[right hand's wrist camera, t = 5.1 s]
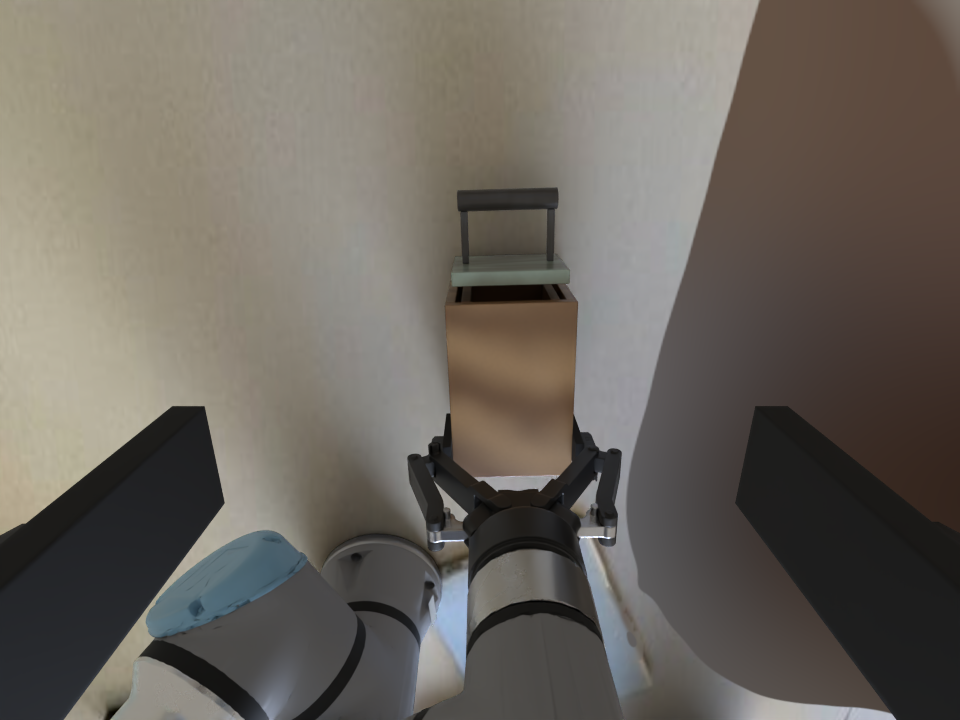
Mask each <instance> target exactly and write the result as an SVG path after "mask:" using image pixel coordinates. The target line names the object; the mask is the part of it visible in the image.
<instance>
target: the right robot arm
mask: <svg viewBox="0 0 960 720" xmlns="http://www.w3.org/2000/svg"><path fill="white" fill-rule="evenodd" d="M224 503H225V502H224V498H223V493H222V488H221V483H220V478H219V473H218V469H217V464H216V459H215V454H214V449H213V445H212V440H211V435H210V430H209V425H208V421H207V416H206V411H205V406H172V407H171V408H170V409H168V410H167V411H166V412H165V413H163V414H162V415H161V416H160V417H158V418H157V419H156V420H155V421H153V422H152V423H151V424H150V425H148V426H147V427H146V428H145V429H143V430H142V431H141V432H140V433H138V434H137V435H136V436H135V437H133V438H132V439H131V440H130V441H128V442H127V443H126V444H125V445H123V446H122V447H121V448H120V449H118V450H117V451H116V452H115V453H113V454H112V455H111V456H110V457H108V458H107V459H106V460H105V461H103V462H102V463H101V464H100V465H98V466H97V467H96V468H95V469H93V470H92V471H91V472H90V473H88V474H87V475H86V476H85V477H83V478H82V479H81V480H80V481H79V482H77V483H76V484H75V485H74V486H72V487H71V488H70V489H69V490H67V491H66V492H65V493H64V494H62V495H61V496H60V497H59V498H57V499H56V500H55V501H54V502H52V503H51V504H50V505H49V506H47V507H46V508H45V509H44V510H42V511H41V512H40V513H39V514H37V515H36V516H35V517H34V518H32V519H31V520H30V521H29V522H27V523H26V524H21V525H19V526H17V527H15V528H13V529H11V530H10V531H8V532H6V533H4V534H2V535H0V720H64V718H65V717H66V716H67V714H68V713H69V712H70V710H71V709H72V708H73V706H74V705H75V704H76V702H77V701H78V700H79V698H80V697H81V696H82V694H83V693H84V692H85V690H86V689H87V687H88V686H89V685H90V683H91V682H92V681H93V679H94V678H95V677H96V675H97V674H98V673H99V671H100V670H101V669H102V667H103V666H104V665H105V663H106V662H107V661H108V659H109V658H110V657H111V655H112V654H113V653H114V651H115V650H116V649H117V647H118V646H119V644H120V643H121V642H122V640H123V639H124V638H125V636H126V635H127V634H128V632H129V631H130V630H131V628H132V627H133V626H134V624H135V623H136V622H137V620H138V619H139V618H140V616H141V615H142V614H143V612H144V611H145V610H146V608H147V607H148V605H149V604H150V603H151V601H152V600H153V599H154V597H155V596H156V595H157V593H158V592H159V591H160V589H161V588H162V587H163V585H164V584H165V583H166V581H167V580H168V579H169V577H170V576H171V575H172V573H173V572H174V571H175V569H176V568H177V567H178V565H179V564H180V562H181V561H182V560H183V558H184V557H185V556H186V554H187V553H188V552H189V550H190V549H191V548H192V546H193V545H194V544H195V542H196V541H197V540H198V538H199V537H200V536H201V534H202V533H203V532H204V530H205V529H206V528H207V526H208V525H209V524H210V522H211V521H212V519H213V518H214V517H215V515H216V514H217V513H218V511H219V510H220V509H221V507H222V506H223V505H224ZM735 503H736V505H737V506H738V507H739V509H740V510H741V511H742V513H743V514H744V515H745V517H746V518H747V519H748V521H749V522H750V523H751V525H752V526H753V527H754V529H755V530H756V532H757V533H758V534H759V536H760V537H761V538H762V540H763V541H764V542H765V544H766V545H767V546H768V548H769V549H770V550H771V552H772V553H773V554H774V556H775V557H776V558H777V560H778V561H779V562H780V564H781V565H782V566H783V568H784V569H785V571H786V572H787V573H788V575H789V576H790V577H791V579H792V580H793V581H794V583H795V584H796V585H797V587H798V588H799V589H800V591H801V592H802V593H803V595H804V596H805V597H806V599H807V600H808V601H809V603H810V604H811V605H812V607H813V608H814V610H815V611H816V612H817V614H818V615H819V616H820V618H821V619H822V620H823V622H824V623H825V624H826V626H827V627H828V628H829V630H830V631H831V632H832V634H833V635H834V636H835V638H836V639H837V640H838V642H839V643H840V644H841V646H842V647H843V649H844V650H845V651H846V653H847V654H848V655H849V657H850V658H851V659H852V661H853V662H854V663H855V665H856V666H857V667H858V669H859V670H860V671H861V673H862V674H863V675H864V677H865V678H866V679H867V681H868V682H869V683H870V685H871V686H872V687H873V689H874V690H875V692H876V693H877V694H878V696H879V697H880V698H881V700H882V701H883V702H884V704H885V705H886V706H887V708H888V709H889V710H890V712H891V713H892V714H893V716H894V717H895V718H896V720H960V533H958V532H957V531H955V530H953V529H951V528H949V527H947V526H945V525H943V524H941V523H939V522H931V521H930V520H929V519H928V518H926V517H925V516H924V515H923V514H921V513H920V512H919V511H918V510H916V509H915V508H914V507H913V506H911V505H910V504H909V503H908V502H906V501H905V500H904V499H903V498H901V497H900V496H899V495H898V494H896V493H895V492H894V491H893V490H891V489H890V488H889V487H888V486H886V485H885V484H884V483H883V482H881V481H880V480H879V479H878V478H876V477H875V476H874V475H873V474H872V473H870V472H869V471H868V470H867V469H865V468H864V467H863V466H861V465H860V464H859V463H858V462H857V461H855V460H854V459H853V458H852V457H850V456H849V455H848V454H846V453H845V452H844V451H843V450H842V449H840V448H839V447H838V446H837V445H835V444H834V443H833V442H832V441H830V440H829V439H828V438H827V437H825V436H824V435H823V434H822V433H820V432H819V431H818V430H817V429H815V428H814V427H813V426H812V425H810V424H809V423H808V422H807V421H805V420H804V419H803V418H802V417H800V416H799V415H798V414H797V413H795V412H794V411H793V410H792V409H790V408H789V407H788V406H756V407H755V411H754V416H753V421H752V425H751V430H750V435H749V440H748V445H747V450H746V454H745V459H744V464H743V469H742V473H741V478H740V483H739V488H738V493H737V498H736V502H735Z"/></svg>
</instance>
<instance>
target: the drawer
mask: <svg viewBox="0 0 960 720" xmlns="http://www.w3.org/2000/svg"><path fill="white" fill-rule="evenodd" d="M457 203H458V211H461V238H462V256H460V257H455V260H454V264H453V268H452V272H451V280H452V287H463V292H462V300H461V302H495V301H532V300H560V299H559V297H558V295H557V293H556V292H555V290H554V288H553V286H552V285H551V284H569V282H570V269H569V268H568V267H567V266H566V265H565V263H564V262H563V261H562V260H561V259H560V257H559V256H558V255H557V254H554V225H555V209H557V207H558V188H522V189H487V190H458V191H457ZM530 209H547V254H532V255H496V256H469V241H468V212H467V211H495V210H530Z"/></svg>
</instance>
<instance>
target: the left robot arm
mask: <svg viewBox="0 0 960 720" xmlns="http://www.w3.org/2000/svg"><path fill="white" fill-rule="evenodd" d="M428 450H429V454H428V455H427V456H424V457H421V455H419V454H411V455H409V456H408V457H407V459H408V471H409V481H410V485H411V487H412V489H413V492H414V494H415V497H416V499H417V501H418V504H419V506H420V508H421V511H422V513H423V516H424V518H425V520H426V529H427V542H428V548H429V550H431V551H439V550H442V549H443V547H444V543H445V541H464V543H465V544H466V546H467V547H468V548H469V568H468V589H469V592H468V603H467V643H466V668H465V680H464V690H463V691H462V693H460V694H459V695H457V696H454V697H452V698H450V699H447V700H445V701H442V702H440V703H438V704H436V705H434V706H432V707H430V708H426V709H424V710H422V711H421V712H419V713H416V714H414V715H413V710H414V700H415V691H416V681H417V672H418V662H419V653H420V644H421V642H422V640H423V638H424V636H425V634H426V632H427V630H428V628H429V627H430V625H431V623H432V627H433V625H434V622H435V620H436V618H437V616H436V613H437V610H438V608H439V605H440V601H441V593H442V578H441V574H440V571H439V568H438V566H437V565H436V563H435V561H434V560H433V559H432V558H431V556H430V555H429V554H428V553H427V552H426V551H424V550H423V549H422V548H421V547H419V546H418V545H416V544H414V543H412V542H410V541H408V540H406V539H403V538H400V537H396V536H391V535H383V534H372V535H364V536H359V537H356V538H353V539H350V540H348V541H346V542H344V543H342V544H341V545H339V546H338V547H337V548H336V549H334V550H333V551H332V552H331V553H330V555H329V556H328V557H327V559H326V561H325V563H324V565H323V568H322V570H321V573H319V572H318V571H317V570H316V569H315V568H314V567H313V566H312V565H311V563H310V562H309V561H308V560H307V556H306V555H305V554H303V553H301V552H299V551H297V550H296V549H295V548H294V547H293V546H292V545H291V544H290V543H289V542H288V541H287V540H286V539H285V538H284V537H283V536H282V535H280V534H279V533H277V532H274V531H269V530H263V531H257V532H253V533H250V534H247V535H244V536H242V537H240V538H237V539H235V540H233V541H232V542H230V543H228V544H226V545H225V546H223V547H221V548H220V549H218V550H216V551H215V552H213V553H212V554H210V555H209V556H207V557H206V558H204V559H203V560H202V561H200V562H199V563H197V564H196V565H195V566H194V567H192V568H191V569H190V570H188V571H187V572H186V573H185V574H184V575H182V576H181V577H180V578H179V579H178V580H177V581H176V582H174V583H173V584H172V585H171V586H170V587H169V588H168V589H167V590H166V591H165V592H164V593H163V594H162V595H161V596H160V597H159V599H158V600H157V601H156V605H155V606H153V607H152V608H151V609H150V611H149V613H148V615H147V617H146V624H147V627H148V632H149V634H150V635H151V636H152V637H155V639H154V640H153V641H152V642H151V644H150V645H149V646H148V647H147V648H146V649H145V650H144V651H143V653H142V654H141V655H140V656H139V657H138V658H137V659H136V660H135V662H134V663H133V677H132V690H131V694H130V697H129V699H128V700H127V701H126V702H125V703H124V704H123V706H122V707H121V708H120V709H119V710H118V711H117V713H116V714H115V715H114V716H113V717H112V718H111V720H624V717H623V713H622V710H621V706H620V702H619V699H618V695H617V692H616V688H615V685H614V681H613V678H612V674H611V670H610V667H609V663H608V659H607V655H606V651H605V644H604V640H603V636H602V632H601V628H600V623H599V619H598V615H597V611H596V607H595V603H594V599H593V595H592V591H591V587H590V584H589V582H588V579H587V573H586V569H585V565H584V561H583V557H582V553H581V549H580V545H579V540H580V538H590V537H598V540H599V542H600V544H601V545H603V546H606V547H612V546H614V545H615V543H616V532H617V520H618V513H617V511H616V508H615V506H614V504H615V499H616V494H617V489H618V484H619V479H620V468H621V456H622V452H621V451H620V450H619V449H614V448H612V449H609V450H608V451H607V452H602V451H600V450H599V448H598V447H597V446H596V445H595V443H594V440H593V438H592V435H591V434H590V433H588V432H580V430H579V428H578V425H577V422H576V419H575V417H574V414H573V434H572V463H571V464H570V465H569V466H568V467H567V468H566V469H565V470H564V471H563V473H562V474H561V475H560V476H559V477H558V478H557V479H556V480H555V479H551V480H550V482H549V483H548V484H547V485H546V486H545V487H544V488H543V489H542V490H541V491H540V492H538V489H527V490H522V491H513V490H498V492H497V491H496V490H494V489H493V488H492V487H491V486H490V485H488V484H487V483H486V482H485V481H481V482H478V481H477V480H476V479H475V478H474V477H472V476H471V475H470V474H469V473H468V472H467V471H465V470H464V469H463V468H462V467H461V466H459V465H458V464H457V463H456V462H455V461H453V449H452V432H451V414H447V415H446V423H445V430H444V436H435V437H434V438H433V439H432V443H430V444H429V445H428ZM598 472H599V473H602V474H601V478H600V482H599V486H598V490H597V494H596V504H595V503H594V504H591V509H590V510H588V511H587V512H586V516H585V517H584V518H580V519H579V517H578V516H577V515H576V514H575V513H574V512H572V511H571V510H569V509H570V508H571V507H572V505H573V504H574V503H575V502H576V500H577V499H578V498H579V497H580V495H581V494H582V493H583V492H584V490H585V489H586V488H587V486H588V485H589V484H590V483H591V481H592V480H596V481H597V475H598ZM434 481H435V482H436V483H437V484H438V485H439V486H440V487H441V488H442V489H443V490H444V491H445V492H446V493H447V494H448V495H449V496H450V497H451V498H452V499H453V500H454V501H455V502H457V503H458V504H459V505H460V506H461V507H462V508H463V509H464V510H465V511H466V512H467V513H468V514H469V515H467V516H466V517H465V519H464V521H463V522H460V521H458V520H456V519H455V516H454V515H453V514H451V513H450V508H447V507H446V508H444V504H443V499H442V497H441V495H440V493H439V491H438V489H437V487H436V485H435V483H434Z"/></svg>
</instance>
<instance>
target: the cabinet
mask: <svg viewBox="0 0 960 720" xmlns="http://www.w3.org/2000/svg"><path fill="white" fill-rule="evenodd" d="M551 285H552V286H553V288H554V290H555V292H556V293H557V295H558V297H559V299H560V300H532V301H495V302H461V300H462V292H463V287H452V280H451V282H450V286H449V290H448V294H447V299H446V303H445V318H446V337H447V356H448V375H449V394H450V413H451V432H452V449H453V461H455V462H456V463H457V464H458V465H459V466H461V467H462V468H463V469H464V470H465V471H467V472H468V473H469V474H470V475H471V476H472V477H474V478H477V477H518V476H559V475H561V474H562V473H563V471H564V470H565V469H566V468H567V467H568V466H569V465H570V464H571V461H572V434H573V411H574V387H575V362H576V337H577V313H578V301H577V300H576V298H575V297H574V295H573V294H572V293H571V291H570V290H569V288H568V287H567V285H566V284H551Z"/></svg>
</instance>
